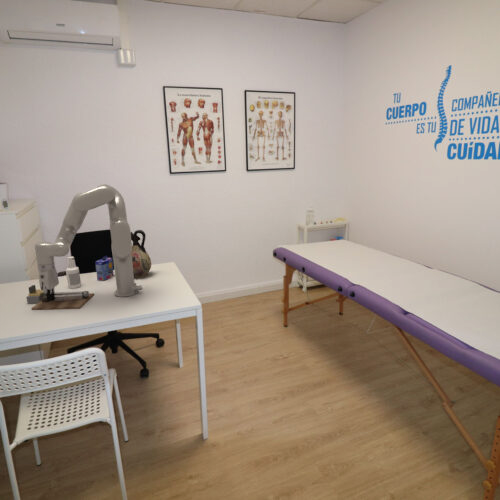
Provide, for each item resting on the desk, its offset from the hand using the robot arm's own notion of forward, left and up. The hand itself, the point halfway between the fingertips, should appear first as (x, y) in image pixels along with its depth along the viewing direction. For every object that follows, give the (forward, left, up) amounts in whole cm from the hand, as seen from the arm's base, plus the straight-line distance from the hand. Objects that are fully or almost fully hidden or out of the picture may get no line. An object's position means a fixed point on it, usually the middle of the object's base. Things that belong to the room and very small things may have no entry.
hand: (51, 300), depth 184 cm
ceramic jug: (-34, -43, -3) cm, 55 cm away
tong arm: (-5, -4, -1) cm, 7 cm away
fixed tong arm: (-3, -8, -1) cm, 8 cm away
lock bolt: (+10, -6, +1) cm, 12 cm away
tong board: (-5, -3, -2) cm, 6 cm away
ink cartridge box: (-13, -40, -3) cm, 42 cm away
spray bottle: (0, -26, -3) cm, 26 cm away
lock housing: (+11, -6, -2) cm, 12 cm away
